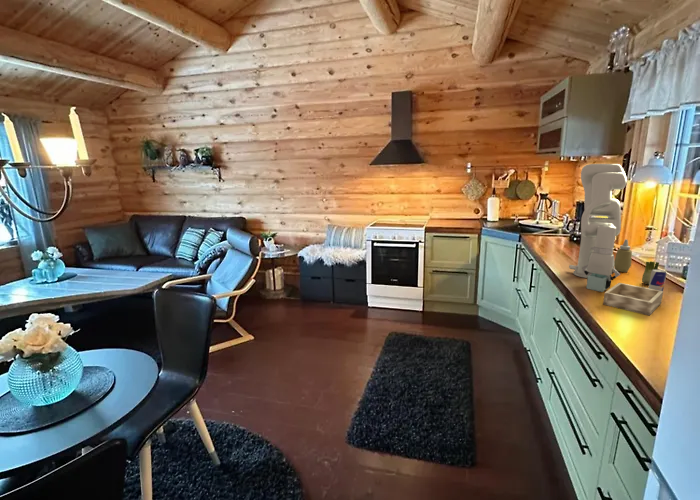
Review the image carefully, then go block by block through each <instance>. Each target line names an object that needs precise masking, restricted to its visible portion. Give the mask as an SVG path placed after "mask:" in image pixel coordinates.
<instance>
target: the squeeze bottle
mask: <svg viewBox="0 0 700 500" xmlns="http://www.w3.org/2000/svg"><path fill="white" fill-rule="evenodd" d="M632 253H633V252H632V250H631V246H630V245H629V240H628V239H624V242H623V243H622V244H621V245H619V248H618V249H617V251H616V254H615V256H614V268H615V269H616V270H617V271H618V272H619V273H627V272H629V270H630V268H631V267H632V256H633V255H632Z"/></svg>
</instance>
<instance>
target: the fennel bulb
mask: <svg viewBox="0 0 700 500" xmlns="http://www.w3.org/2000/svg"><path fill="white" fill-rule="evenodd" d="M659 264H660V262H659V261H656V262H655V261H645V267H644V270H643V271H644V272H643V274H642V278H641V283H643V284H644V285H648V286H649V282H650V277H651V271H652V270H653V269H659Z"/></svg>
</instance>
